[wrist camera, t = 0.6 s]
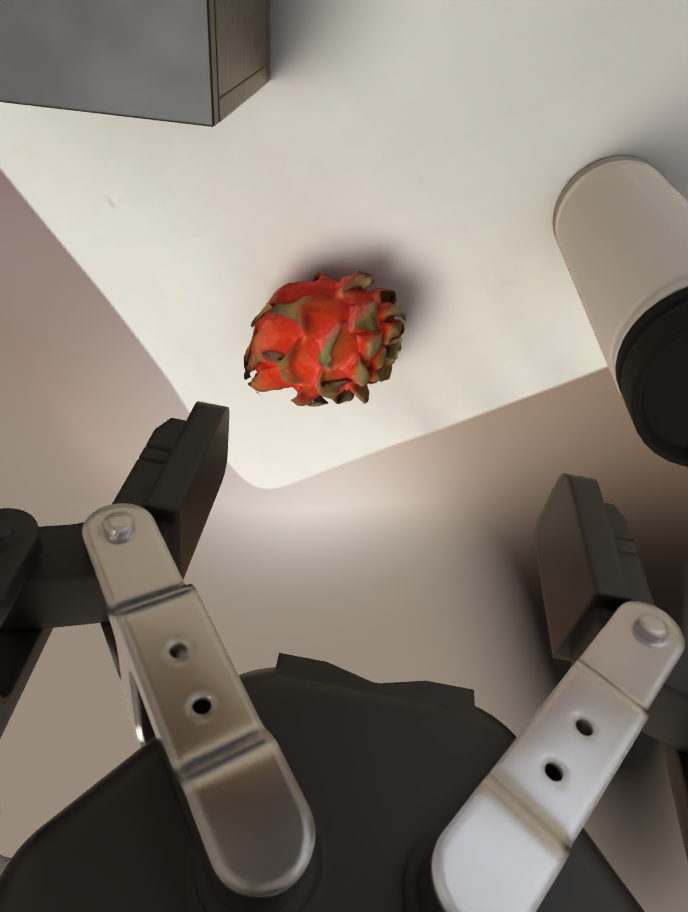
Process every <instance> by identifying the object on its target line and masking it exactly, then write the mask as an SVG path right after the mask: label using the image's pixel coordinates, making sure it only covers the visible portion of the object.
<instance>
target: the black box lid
mask: <svg viewBox="0 0 688 912" xmlns="http://www.w3.org/2000/svg"><path fill="white" fill-rule="evenodd" d="M0 102H5V103H14V104H22V105H31V106H39V107H48V108H56V109H65V110H74V111H82V112H91V113H99V114H108V115H116V116H125V117H133V118H142V119H150V120H159V121H168V122H176V123H185V124H193V125H202V126H210V127H213V126H215V125H216V124H218V122H219V116H218V91H217V66H216V42H215V17H214V0H0Z"/></svg>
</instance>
